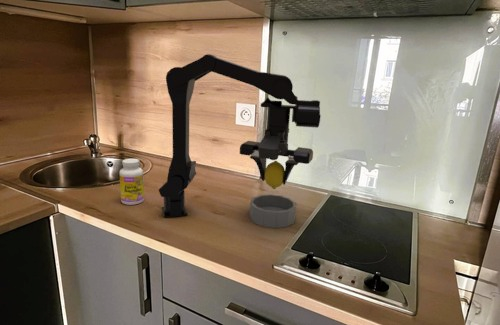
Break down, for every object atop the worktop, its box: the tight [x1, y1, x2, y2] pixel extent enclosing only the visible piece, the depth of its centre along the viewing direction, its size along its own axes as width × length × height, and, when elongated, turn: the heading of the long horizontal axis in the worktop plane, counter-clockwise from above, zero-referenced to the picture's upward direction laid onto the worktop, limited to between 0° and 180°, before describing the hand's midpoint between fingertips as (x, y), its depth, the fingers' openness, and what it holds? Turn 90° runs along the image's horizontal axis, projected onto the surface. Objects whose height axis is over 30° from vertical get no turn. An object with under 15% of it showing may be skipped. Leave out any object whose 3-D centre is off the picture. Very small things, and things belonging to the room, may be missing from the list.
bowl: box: [249, 193, 297, 229], centre depth 91 cm, size 13×13×4 cm
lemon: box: [264, 160, 285, 190], centre depth 87 cm, size 6×6×8 cm
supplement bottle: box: [119, 158, 145, 206], centre depth 96 cm, size 7×7×13 cm
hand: (273, 182), depth 87 cm, fingers closed on lemon, 5 cm apart
